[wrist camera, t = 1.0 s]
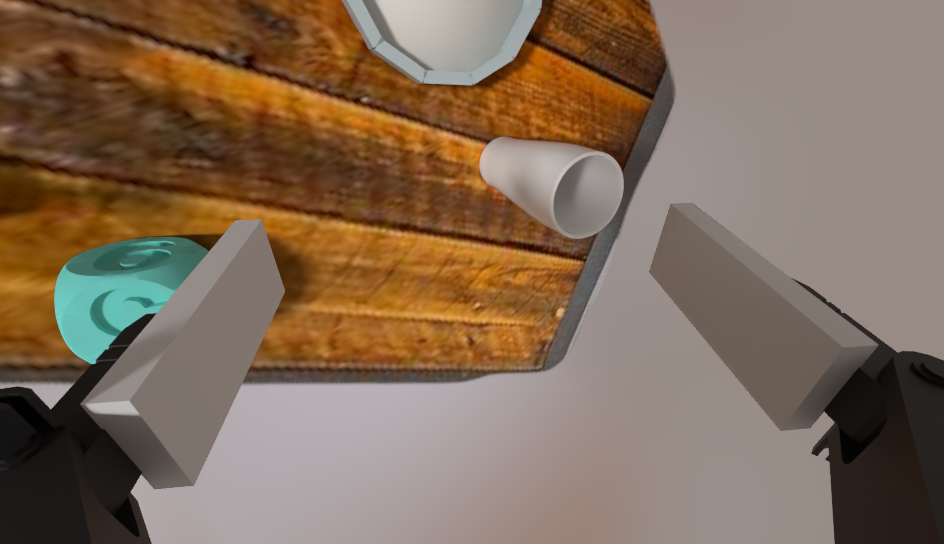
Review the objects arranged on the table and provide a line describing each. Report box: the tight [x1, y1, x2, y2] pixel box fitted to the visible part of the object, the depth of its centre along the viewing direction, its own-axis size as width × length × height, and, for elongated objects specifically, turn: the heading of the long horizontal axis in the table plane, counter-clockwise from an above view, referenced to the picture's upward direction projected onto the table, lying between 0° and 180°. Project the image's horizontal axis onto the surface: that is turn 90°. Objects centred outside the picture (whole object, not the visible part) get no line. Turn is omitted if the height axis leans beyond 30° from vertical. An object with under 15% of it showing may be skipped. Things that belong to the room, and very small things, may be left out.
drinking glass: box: [479, 137, 624, 239], centre depth 36 cm, size 7×7×15 cm
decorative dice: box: [54, 237, 209, 364], centre depth 31 cm, size 8×8×8 cm
